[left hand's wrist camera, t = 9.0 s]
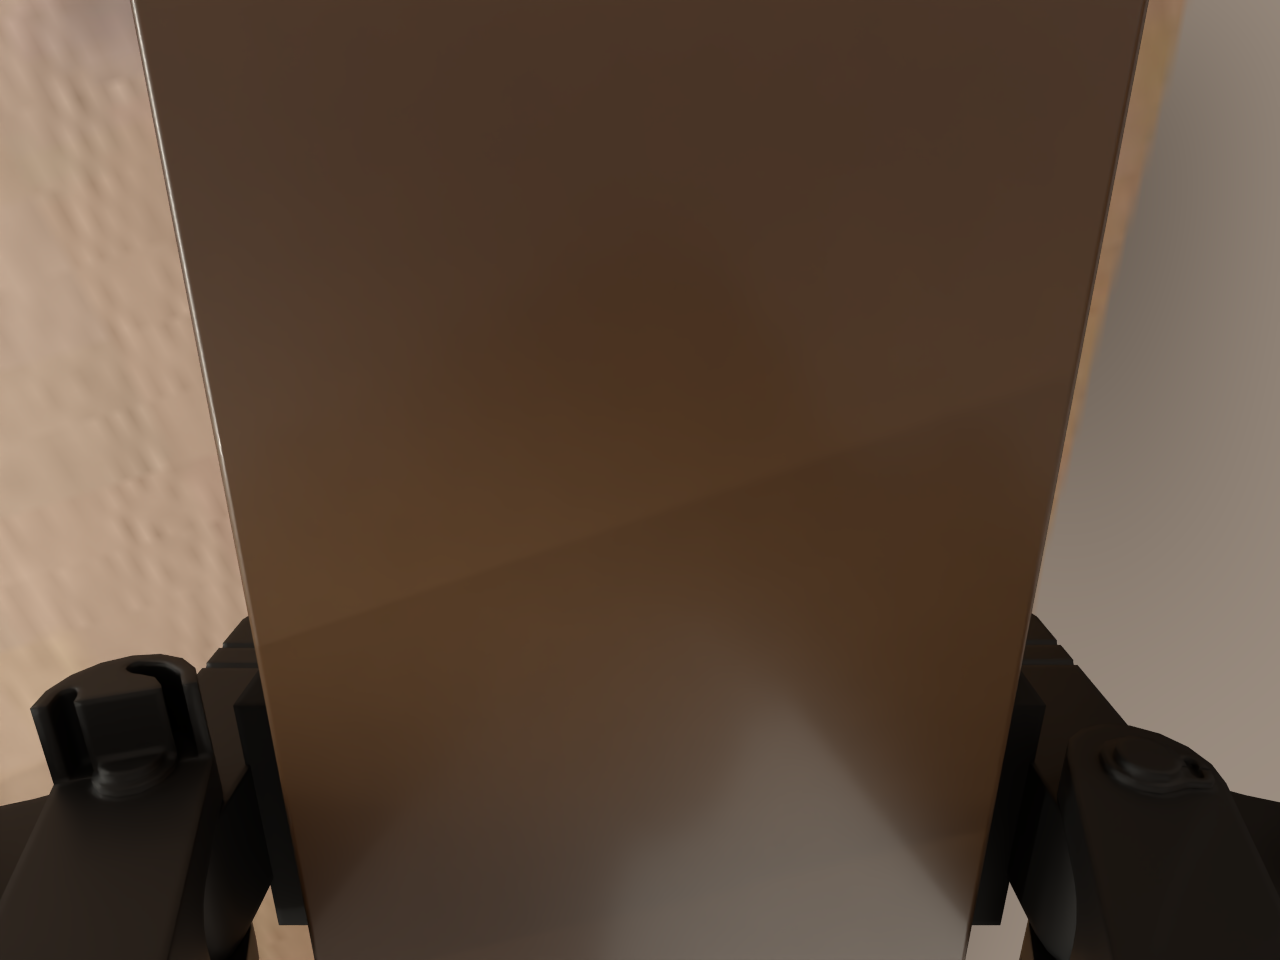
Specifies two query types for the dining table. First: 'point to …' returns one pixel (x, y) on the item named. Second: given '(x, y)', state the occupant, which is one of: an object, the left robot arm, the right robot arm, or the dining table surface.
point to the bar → (639, 444)
